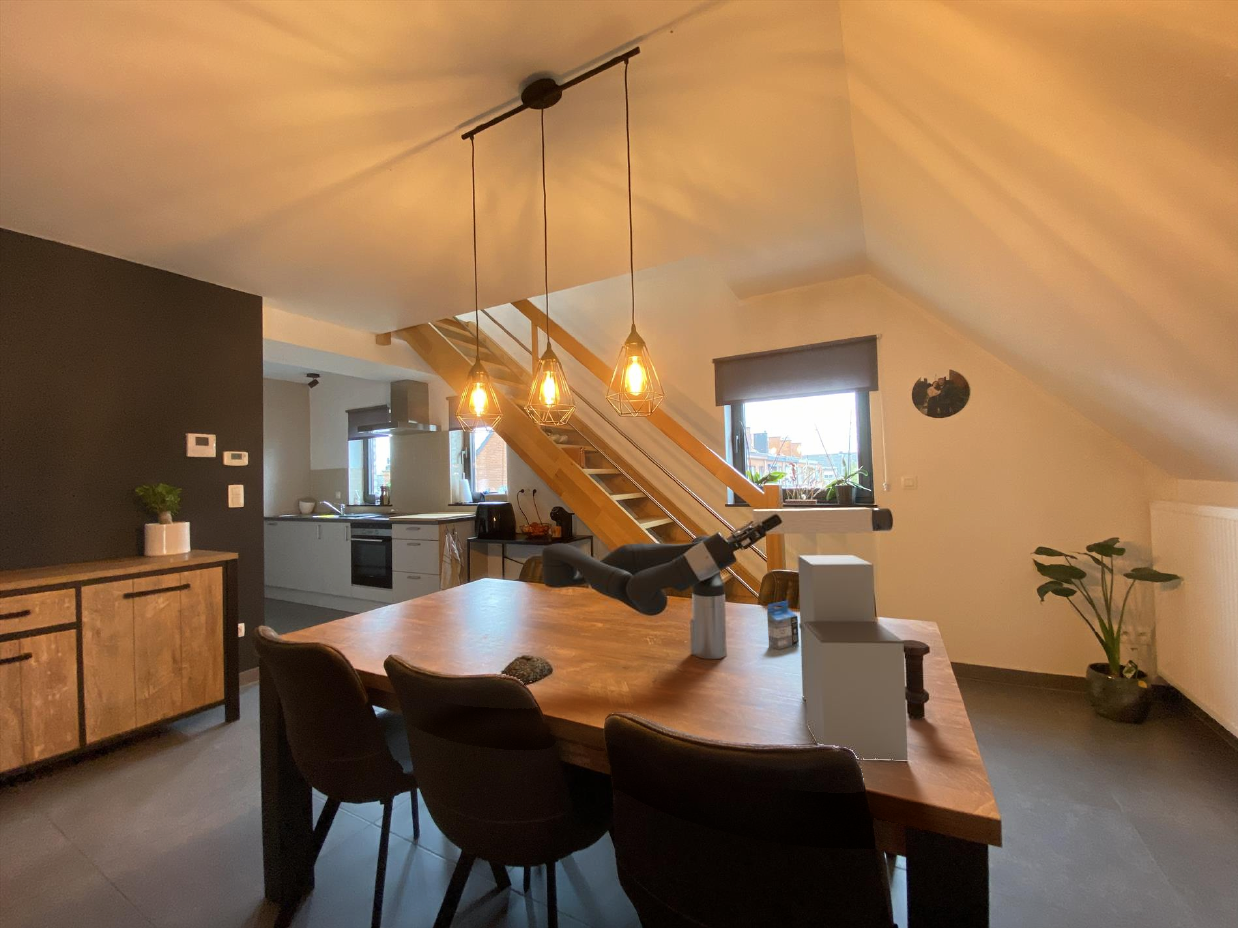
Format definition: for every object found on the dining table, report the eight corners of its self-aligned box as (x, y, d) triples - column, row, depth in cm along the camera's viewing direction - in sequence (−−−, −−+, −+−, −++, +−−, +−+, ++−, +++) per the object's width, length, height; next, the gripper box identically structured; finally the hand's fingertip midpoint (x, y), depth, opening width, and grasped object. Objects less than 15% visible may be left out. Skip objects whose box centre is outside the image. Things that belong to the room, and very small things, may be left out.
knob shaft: (756, 534, 110) (756, 511, 110) (753, 531, 115) (752, 509, 115) (893, 532, 107) (892, 508, 107) (884, 529, 112) (883, 507, 112)
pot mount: (825, 759, 91) (819, 578, 92) (791, 695, 117) (786, 555, 118) (911, 761, 90) (905, 578, 90) (858, 696, 116) (853, 554, 116)
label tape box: (778, 650, 147) (777, 607, 148) (767, 646, 151) (766, 604, 151) (799, 644, 152) (798, 602, 152) (788, 640, 155) (787, 599, 155)
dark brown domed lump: (559, 674, 134) (558, 654, 134) (520, 689, 125) (519, 668, 125) (529, 662, 143) (529, 644, 143) (491, 676, 134) (490, 656, 134)
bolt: (895, 710, 109) (893, 639, 109) (918, 709, 109) (915, 638, 109) (913, 723, 103) (910, 648, 103) (937, 722, 103) (934, 647, 104)
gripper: (702, 546, 107) (774, 504, 105) (699, 538, 121) (762, 500, 120) (722, 578, 106) (794, 535, 105) (716, 565, 120) (780, 528, 119)
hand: (777, 517), depth 112 cm, fingers closed on knob shaft, 4 cm apart
